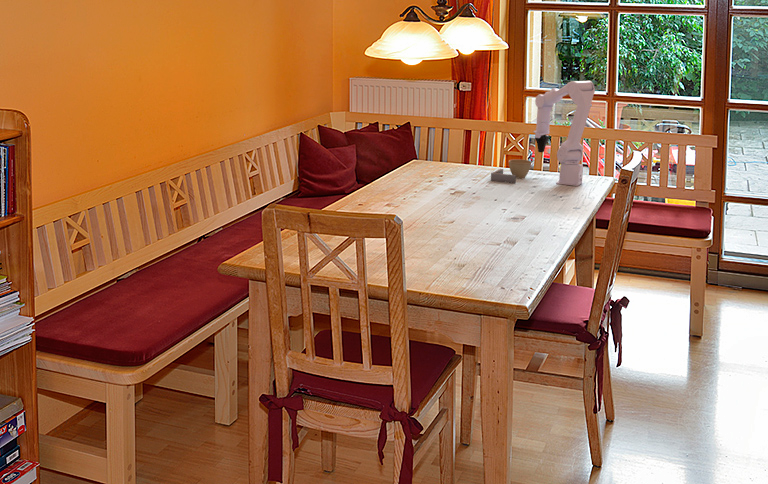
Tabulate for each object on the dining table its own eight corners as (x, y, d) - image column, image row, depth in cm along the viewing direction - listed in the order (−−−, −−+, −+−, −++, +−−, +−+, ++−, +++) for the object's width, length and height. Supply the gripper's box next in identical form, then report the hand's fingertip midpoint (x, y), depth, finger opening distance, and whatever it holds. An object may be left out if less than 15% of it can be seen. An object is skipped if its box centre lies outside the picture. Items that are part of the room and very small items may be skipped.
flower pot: (503, 176, 371) (504, 160, 369) (522, 174, 375) (523, 158, 373) (515, 180, 362) (516, 163, 360) (534, 178, 366) (536, 162, 365)
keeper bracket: (523, 179, 365) (524, 171, 364) (514, 183, 354) (515, 175, 353) (500, 176, 370) (500, 168, 369) (490, 181, 359) (491, 173, 358)
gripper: (539, 119, 376) (537, 149, 380) (529, 122, 364) (527, 153, 367) (554, 120, 373) (552, 150, 377) (544, 124, 361) (542, 155, 364)
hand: (541, 152), depth 372 cm, fingers closed
